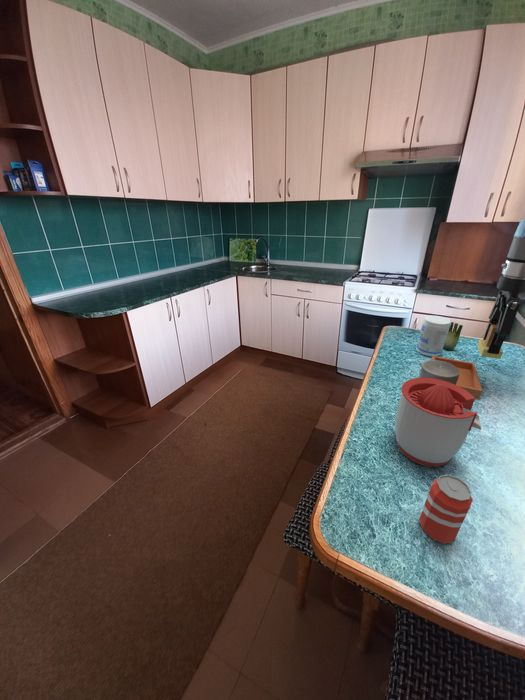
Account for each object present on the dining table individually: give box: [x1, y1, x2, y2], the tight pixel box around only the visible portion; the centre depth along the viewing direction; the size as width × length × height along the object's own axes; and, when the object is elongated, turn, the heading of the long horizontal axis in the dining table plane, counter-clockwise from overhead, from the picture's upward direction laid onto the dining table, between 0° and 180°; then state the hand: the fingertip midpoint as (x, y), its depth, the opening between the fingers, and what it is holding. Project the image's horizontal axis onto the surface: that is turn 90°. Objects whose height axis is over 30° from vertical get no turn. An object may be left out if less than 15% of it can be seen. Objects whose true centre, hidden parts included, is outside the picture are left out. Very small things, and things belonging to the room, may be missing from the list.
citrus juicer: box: [394, 377, 483, 468], centre depth 69 cm, size 16×17×20 cm
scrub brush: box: [476, 324, 504, 360], centre depth 92 cm, size 5×8×9 cm, turn 154°
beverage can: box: [418, 474, 473, 544], centre depth 54 cm, size 6×6×12 cm
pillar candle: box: [418, 359, 460, 385], centre depth 87 cm, size 10×10×15 cm
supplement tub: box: [415, 315, 452, 357], centre depth 118 cm, size 10×10×15 cm
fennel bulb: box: [443, 321, 464, 351], centre depth 122 cm, size 6×5×12 cm
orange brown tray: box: [431, 356, 483, 400], centre depth 102 cm, size 14×20×3 cm
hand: (490, 347), depth 93 cm, fingers closed on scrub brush, 8 cm apart
